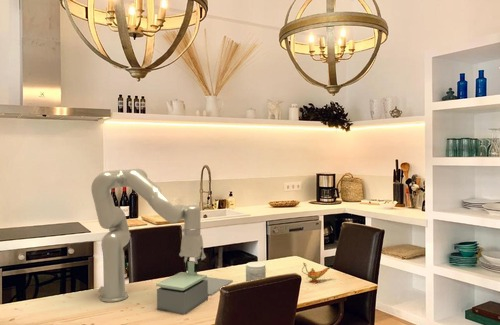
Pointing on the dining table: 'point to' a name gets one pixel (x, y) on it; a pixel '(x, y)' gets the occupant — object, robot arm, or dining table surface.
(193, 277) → the lid
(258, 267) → the supplement tub
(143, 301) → the dining table surface
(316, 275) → the magic lamp
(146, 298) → the dining table surface
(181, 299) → the parts tub
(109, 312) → the dining table surface
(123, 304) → the dining table surface
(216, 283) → the mat
